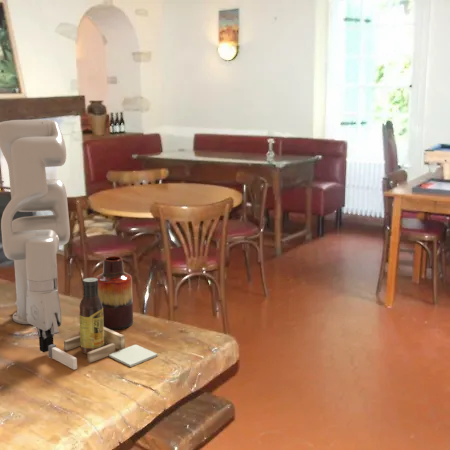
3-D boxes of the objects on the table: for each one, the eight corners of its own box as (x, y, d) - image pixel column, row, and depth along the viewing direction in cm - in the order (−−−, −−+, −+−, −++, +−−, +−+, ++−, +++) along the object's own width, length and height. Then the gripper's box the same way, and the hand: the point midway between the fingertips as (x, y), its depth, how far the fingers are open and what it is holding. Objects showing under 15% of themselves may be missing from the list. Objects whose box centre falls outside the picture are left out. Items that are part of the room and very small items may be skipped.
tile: (109, 356, 157) (108, 354, 157) (135, 346, 164) (135, 344, 164) (130, 367, 152) (130, 364, 151) (157, 356, 158) (157, 353, 158)
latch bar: (48, 357, 156) (48, 345, 156) (54, 355, 157) (53, 343, 157) (72, 370, 149) (72, 358, 148) (78, 367, 150) (77, 356, 149)
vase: (140, 321, 182) (139, 257, 177) (116, 333, 173) (113, 265, 168) (114, 314, 187) (111, 251, 183) (89, 325, 178) (86, 259, 174)
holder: (64, 349, 162) (63, 335, 161) (98, 337, 170) (97, 324, 169) (90, 362, 154) (89, 348, 153) (124, 349, 162) (124, 335, 161)
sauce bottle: (98, 356, 158) (95, 284, 153) (76, 354, 159) (73, 282, 154) (108, 346, 164) (105, 277, 159) (87, 344, 165) (84, 275, 161)
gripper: (14, 280, 156) (19, 346, 160) (45, 293, 146) (49, 363, 150) (40, 274, 161) (44, 338, 165) (71, 286, 152) (75, 354, 156)
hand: (46, 349), depth 158 cm, fingers closed
